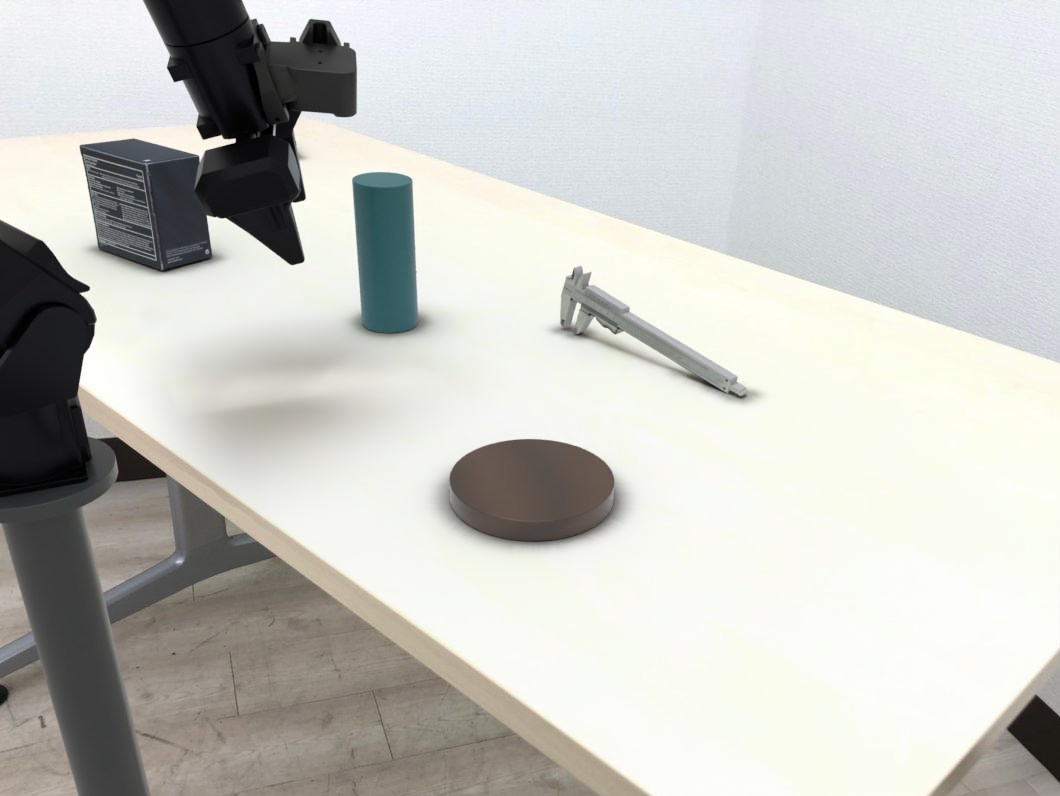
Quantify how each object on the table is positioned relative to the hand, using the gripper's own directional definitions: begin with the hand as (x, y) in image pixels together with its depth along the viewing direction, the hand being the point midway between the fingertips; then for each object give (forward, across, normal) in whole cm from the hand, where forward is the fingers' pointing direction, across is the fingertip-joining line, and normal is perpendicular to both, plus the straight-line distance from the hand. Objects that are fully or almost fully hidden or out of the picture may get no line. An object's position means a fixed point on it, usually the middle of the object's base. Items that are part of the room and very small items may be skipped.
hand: (299, 230), depth 79 cm
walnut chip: (+10, -24, -12) cm, 29 cm away
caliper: (+19, -3, -24) cm, 31 cm away
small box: (+13, +27, +21) cm, 37 cm away
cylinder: (+15, +7, -2) cm, 17 cm away
